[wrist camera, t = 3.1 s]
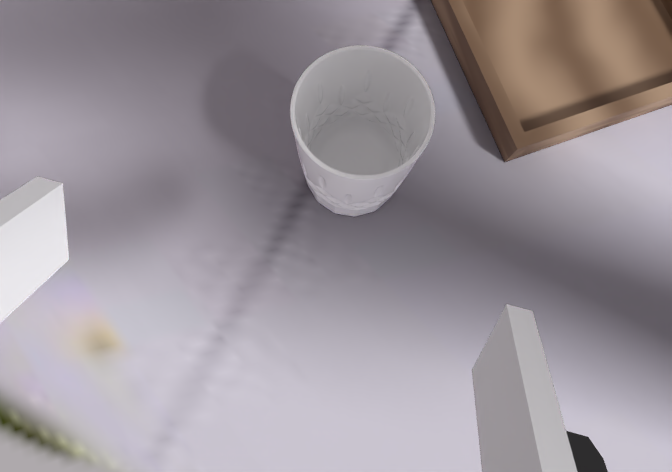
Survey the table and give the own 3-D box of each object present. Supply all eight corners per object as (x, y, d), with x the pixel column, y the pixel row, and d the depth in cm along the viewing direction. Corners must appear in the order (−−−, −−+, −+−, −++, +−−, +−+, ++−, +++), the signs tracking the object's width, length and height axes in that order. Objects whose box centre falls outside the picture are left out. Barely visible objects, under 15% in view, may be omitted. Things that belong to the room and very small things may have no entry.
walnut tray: (610, -94, 43) (628, -120, 41) (713, 90, 40) (739, 72, 37) (414, -36, 41) (420, -60, 39) (504, 162, 38) (517, 149, 35)
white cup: (354, 102, 38) (366, 19, 29) (427, 176, 37) (465, 115, 28) (275, 168, 37) (259, 104, 27) (348, 247, 36) (359, 209, 26)
